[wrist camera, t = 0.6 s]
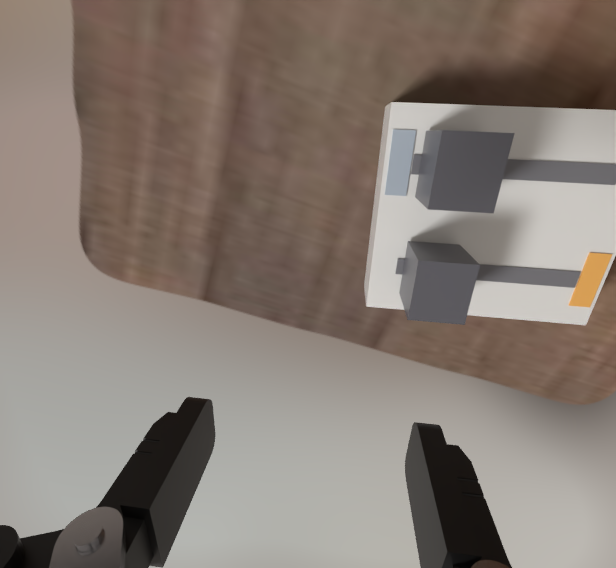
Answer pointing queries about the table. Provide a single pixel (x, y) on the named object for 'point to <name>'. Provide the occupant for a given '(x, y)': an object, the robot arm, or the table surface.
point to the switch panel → (505, 210)
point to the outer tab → (437, 282)
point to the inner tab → (462, 170)
